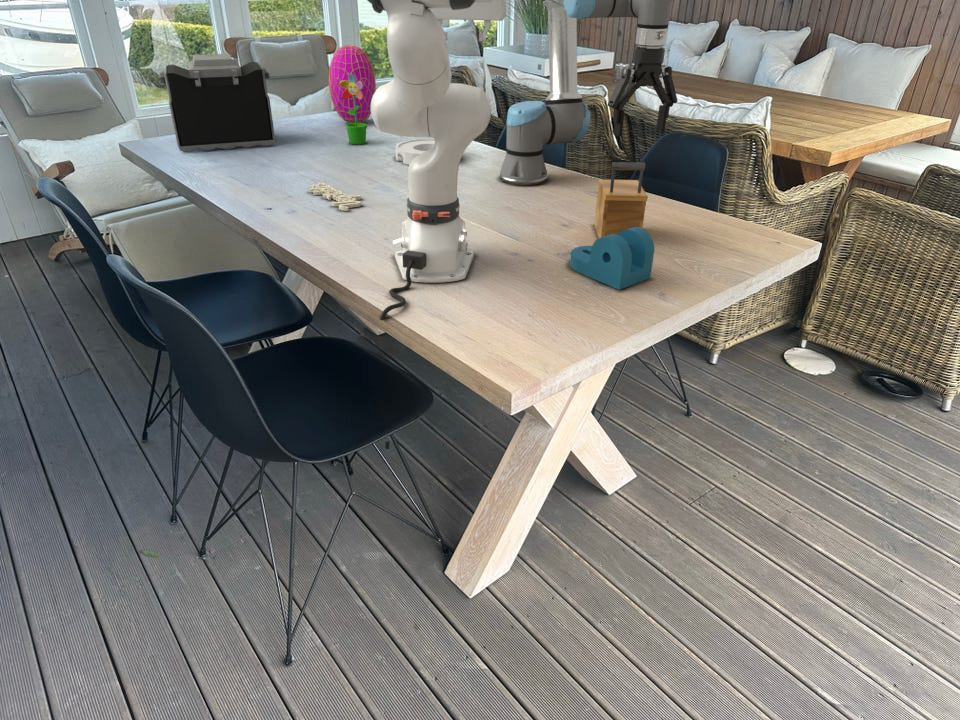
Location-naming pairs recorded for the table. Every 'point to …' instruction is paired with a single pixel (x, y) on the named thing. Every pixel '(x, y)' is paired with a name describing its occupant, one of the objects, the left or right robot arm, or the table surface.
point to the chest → (617, 215)
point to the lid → (624, 184)
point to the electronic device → (219, 104)
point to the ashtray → (412, 149)
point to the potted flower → (354, 129)
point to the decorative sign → (336, 196)
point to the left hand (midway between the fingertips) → (463, 41)
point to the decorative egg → (340, 66)
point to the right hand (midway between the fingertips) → (639, 133)
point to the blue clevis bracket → (616, 258)
